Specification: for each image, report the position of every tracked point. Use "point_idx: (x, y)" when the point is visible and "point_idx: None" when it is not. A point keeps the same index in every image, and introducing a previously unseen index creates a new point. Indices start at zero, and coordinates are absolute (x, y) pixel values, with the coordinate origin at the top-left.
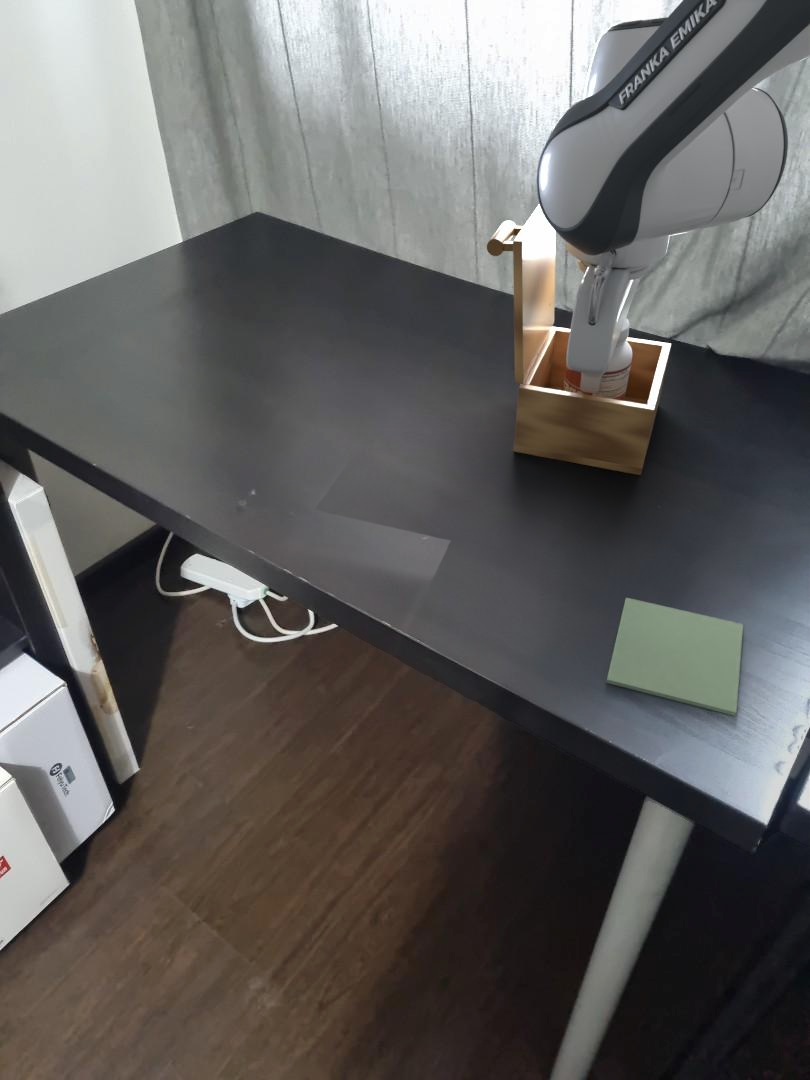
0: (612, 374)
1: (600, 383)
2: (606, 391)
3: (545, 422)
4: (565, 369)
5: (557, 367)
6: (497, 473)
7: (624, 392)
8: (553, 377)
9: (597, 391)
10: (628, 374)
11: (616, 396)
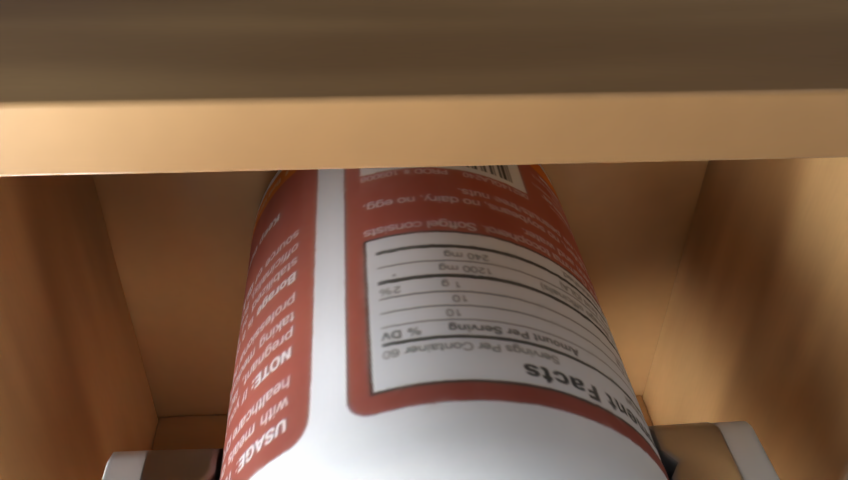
0: (647, 443)
1: (717, 453)
2: (619, 355)
3: None
4: (127, 448)
5: None
6: None
7: (475, 233)
8: (148, 439)
9: (745, 425)
10: (471, 321)
11: (558, 269)
